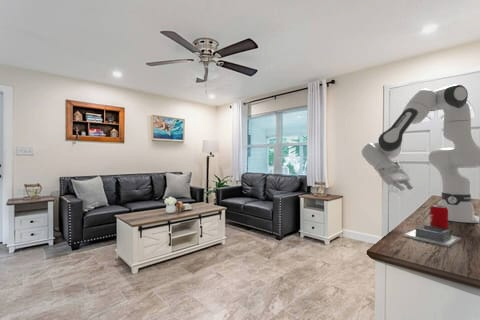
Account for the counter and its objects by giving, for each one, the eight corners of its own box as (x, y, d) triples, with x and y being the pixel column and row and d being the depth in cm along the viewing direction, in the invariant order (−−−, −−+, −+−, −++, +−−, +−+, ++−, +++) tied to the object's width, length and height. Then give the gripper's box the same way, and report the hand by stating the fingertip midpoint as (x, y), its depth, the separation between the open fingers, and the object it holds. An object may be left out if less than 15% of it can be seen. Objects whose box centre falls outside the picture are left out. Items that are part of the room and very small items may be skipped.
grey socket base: (417, 230, 112) (417, 222, 112) (460, 239, 100) (460, 230, 100) (404, 236, 104) (404, 227, 104) (448, 247, 92) (448, 236, 92)
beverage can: (441, 230, 113) (441, 204, 113) (451, 234, 107) (451, 207, 106) (426, 230, 113) (427, 204, 113) (436, 234, 107) (436, 207, 107)
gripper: (381, 164, 120) (403, 186, 112) (399, 164, 132) (421, 184, 124) (372, 173, 124) (392, 194, 116) (390, 172, 135) (410, 192, 127)
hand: (407, 189), depth 120 cm, fingers open, 8 cm apart
